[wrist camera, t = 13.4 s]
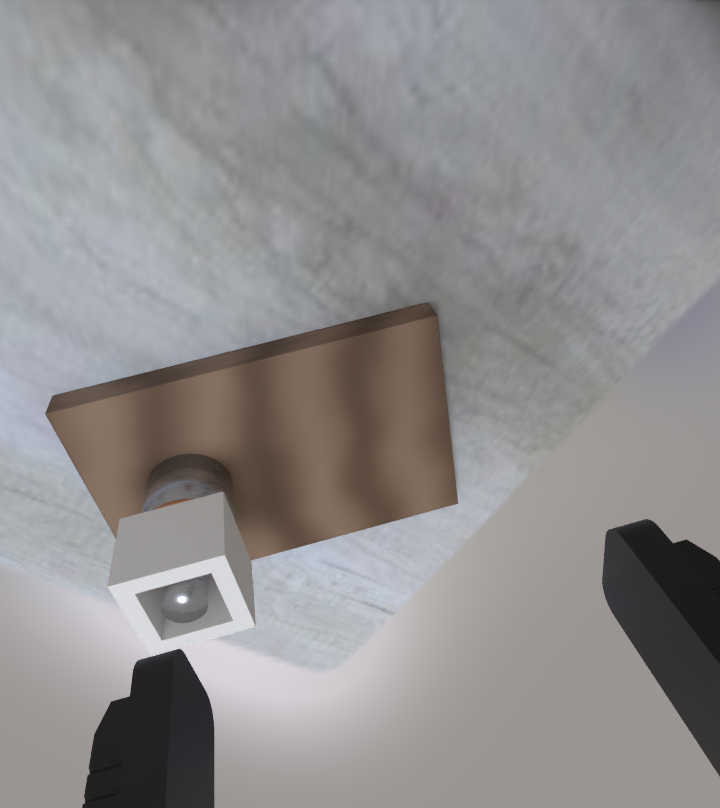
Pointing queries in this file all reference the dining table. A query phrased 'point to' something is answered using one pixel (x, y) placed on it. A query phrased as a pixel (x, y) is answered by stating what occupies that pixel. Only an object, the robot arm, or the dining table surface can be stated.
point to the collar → (182, 571)
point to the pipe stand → (274, 437)
